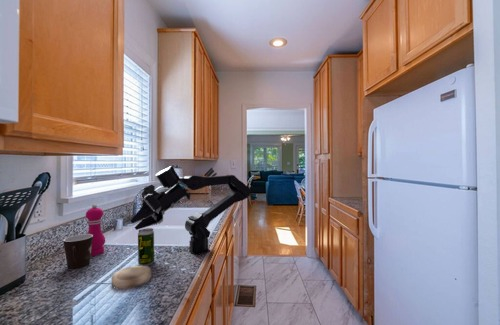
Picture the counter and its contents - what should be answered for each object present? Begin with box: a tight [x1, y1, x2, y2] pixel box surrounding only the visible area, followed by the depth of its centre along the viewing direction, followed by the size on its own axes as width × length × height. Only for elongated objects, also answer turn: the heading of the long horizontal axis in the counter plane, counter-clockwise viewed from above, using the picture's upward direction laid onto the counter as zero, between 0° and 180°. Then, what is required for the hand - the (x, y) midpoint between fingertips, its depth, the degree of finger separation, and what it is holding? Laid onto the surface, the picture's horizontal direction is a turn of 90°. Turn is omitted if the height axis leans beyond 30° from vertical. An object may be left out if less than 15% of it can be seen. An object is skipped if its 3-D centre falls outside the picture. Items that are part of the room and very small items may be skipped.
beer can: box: [137, 227, 155, 267], centre depth 86 cm, size 5×5×12 cm
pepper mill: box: [85, 203, 106, 257], centre depth 97 cm, size 7×7×20 cm
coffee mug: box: [63, 233, 93, 271], centre depth 83 cm, size 12×9×10 cm
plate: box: [111, 265, 152, 290], centre depth 74 cm, size 11×11×2 cm
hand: (133, 225), depth 82 cm, fingers open, 9 cm apart
